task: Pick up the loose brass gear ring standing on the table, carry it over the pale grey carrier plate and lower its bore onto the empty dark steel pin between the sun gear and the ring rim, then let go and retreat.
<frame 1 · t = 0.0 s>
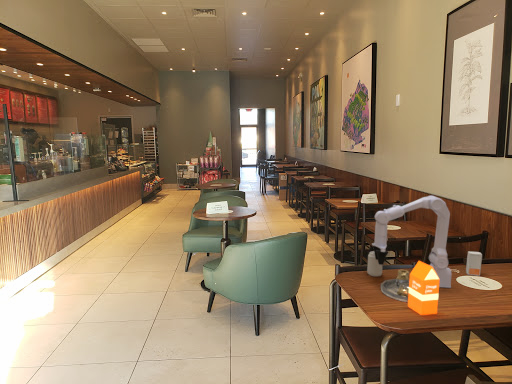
hand: (379, 261, 189), 10 cm above the table, tool pointing down, fingers open, 7 cm apart
can: (374, 274, 200), on the table
orange juice: (422, 310, 158), on the table
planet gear: (402, 279, 192), on the table
skincare box: (472, 274, 203), on the table
carrier: (408, 292, 176), on the table
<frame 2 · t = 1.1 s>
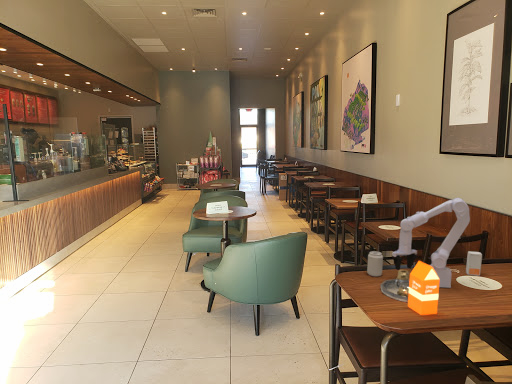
hand: (403, 268, 192), 6 cm above the table, tool pointing down, fingers open, 7 cm apart
nothing on the table moved.
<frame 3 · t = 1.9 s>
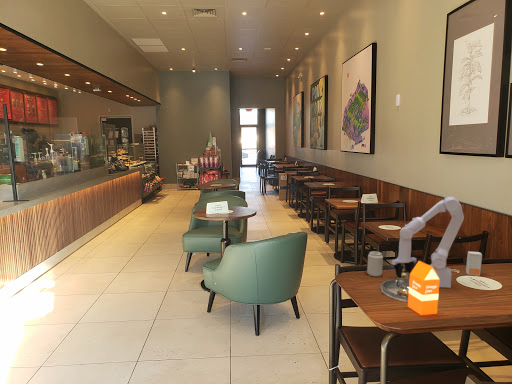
hand: (403, 276, 192), 2 cm above the table, tool pointing down, fingers closed on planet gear, 5 cm apart
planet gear: (402, 279, 192), on the table, touching gripper
everything else where it was.
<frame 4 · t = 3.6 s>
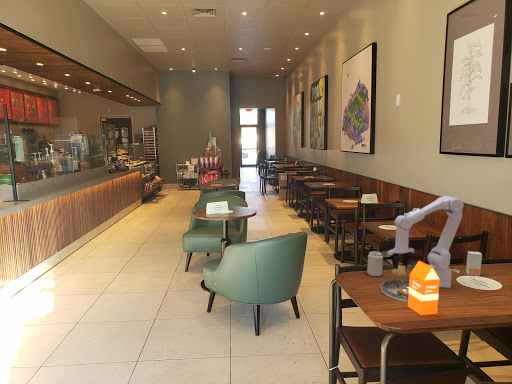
hand: (399, 268, 183), 9 cm above the table, tool pointing down, fingers closed on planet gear, 5 cm apart
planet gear: (399, 273, 184), point 6 cm above the table, touching gripper
everything else where it was.
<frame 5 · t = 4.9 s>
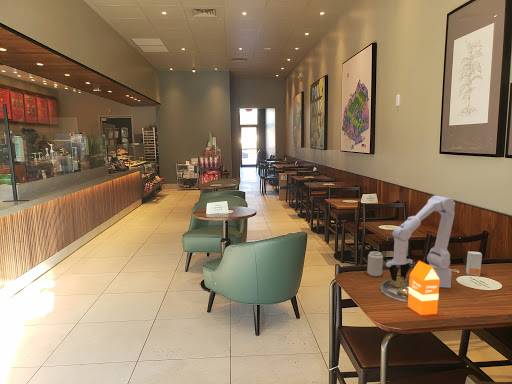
hand: (398, 279, 181), 4 cm above the table, tool pointing down, fingers closed on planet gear, 5 cm apart
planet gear: (397, 284, 182), point 1 cm above the table, touching gripper
everything else where it was.
when the fingers open (4 cm above the table, at t = 5.5 s): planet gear stays where it is, resting on carrier.
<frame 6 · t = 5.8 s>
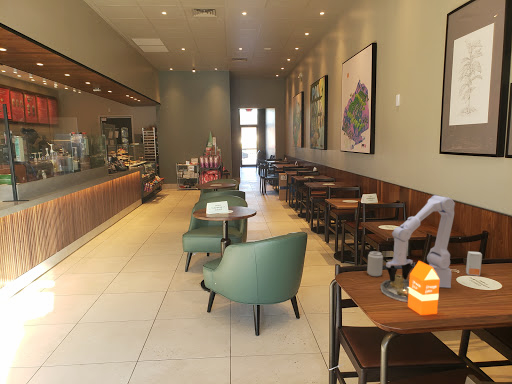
hand: (398, 279, 181), 4 cm above the table, tool pointing down, fingers open, 7 cm apart
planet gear: (397, 285, 182), point 1 cm above the table, touching carrier
everything else where it was.
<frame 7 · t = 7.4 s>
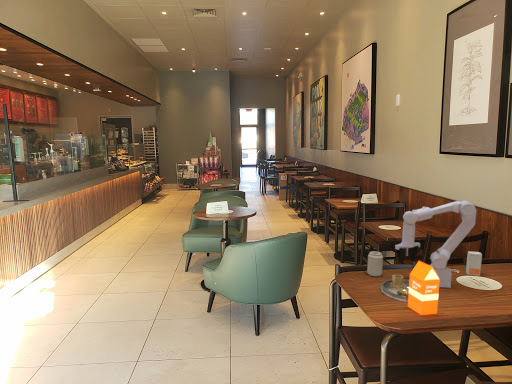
hand: (406, 261, 190), 10 cm above the table, tool pointing down, fingers open, 7 cm apart
nothing on the table moved.
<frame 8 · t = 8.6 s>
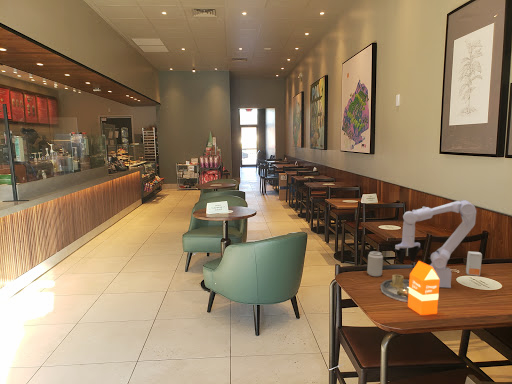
hand: (406, 261, 190), 10 cm above the table, tool pointing down, fingers open, 7 cm apart
nothing on the table moved.
at the end: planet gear 0.4 cm from the target spot, point 1.0 cm above the table; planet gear tilted 0°; the gripper is holding nothing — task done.
